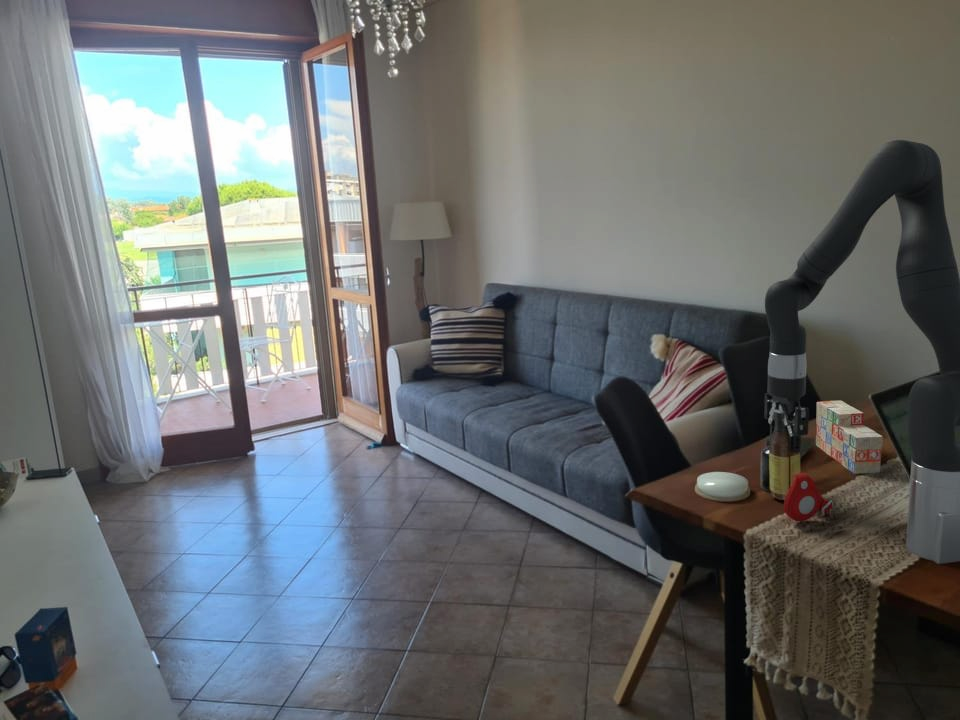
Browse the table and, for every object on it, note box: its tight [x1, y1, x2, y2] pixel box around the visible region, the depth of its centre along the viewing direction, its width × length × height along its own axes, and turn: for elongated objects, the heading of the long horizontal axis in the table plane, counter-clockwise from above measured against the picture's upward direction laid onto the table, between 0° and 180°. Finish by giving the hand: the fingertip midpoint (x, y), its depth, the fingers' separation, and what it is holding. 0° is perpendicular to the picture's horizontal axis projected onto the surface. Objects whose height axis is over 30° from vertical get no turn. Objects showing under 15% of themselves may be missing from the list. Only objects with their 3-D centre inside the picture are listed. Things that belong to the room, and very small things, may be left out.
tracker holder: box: [783, 472, 834, 522], centre depth 145 cm, size 12×4×10 cm, turn 105°
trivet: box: [694, 471, 751, 503], centre depth 162 cm, size 12×12×2 cm
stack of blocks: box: [815, 400, 883, 475], centre depth 176 cm, size 21×6×12 cm, turn 178°
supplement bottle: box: [760, 435, 771, 494], centre depth 161 cm, size 7×7×12 cm
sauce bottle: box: [769, 409, 801, 501], centre depth 154 cm, size 7×6×20 cm
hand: (784, 445), depth 155 cm, fingers open, 7 cm apart
